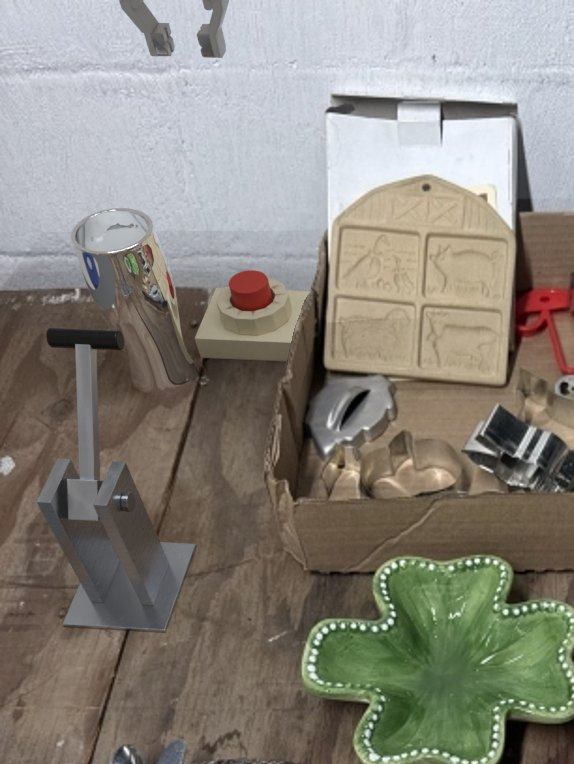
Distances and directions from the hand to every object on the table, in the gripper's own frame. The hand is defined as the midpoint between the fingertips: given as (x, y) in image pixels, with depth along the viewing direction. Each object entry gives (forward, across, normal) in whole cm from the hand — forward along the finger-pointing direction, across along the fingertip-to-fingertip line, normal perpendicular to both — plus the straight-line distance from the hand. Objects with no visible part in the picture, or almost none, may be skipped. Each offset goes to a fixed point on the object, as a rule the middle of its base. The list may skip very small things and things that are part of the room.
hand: (189, 54), depth 83 cm
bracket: (+25, -3, -33) cm, 42 cm away
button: (+22, 0, 0) cm, 22 cm away
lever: (+12, -3, -29) cm, 31 cm away
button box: (+25, 0, 0) cm, 25 cm away
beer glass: (+25, -7, -8) cm, 27 cm away
